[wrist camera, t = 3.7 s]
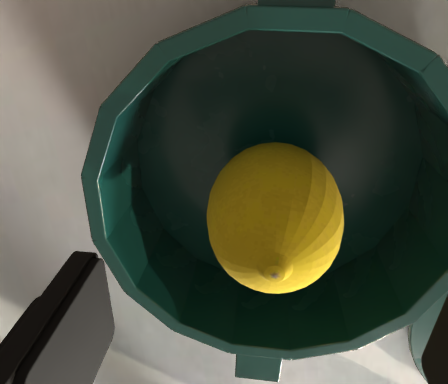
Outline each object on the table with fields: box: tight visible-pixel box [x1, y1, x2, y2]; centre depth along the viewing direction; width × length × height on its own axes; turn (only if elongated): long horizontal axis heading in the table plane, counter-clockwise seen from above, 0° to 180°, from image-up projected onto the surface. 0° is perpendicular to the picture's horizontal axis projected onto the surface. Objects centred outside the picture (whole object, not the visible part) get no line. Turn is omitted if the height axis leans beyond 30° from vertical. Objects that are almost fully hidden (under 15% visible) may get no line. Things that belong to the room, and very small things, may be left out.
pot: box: [81, 0, 448, 382], centre depth 17 cm, size 15×21×5 cm
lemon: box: [207, 142, 344, 294], centre depth 15 cm, size 6×6×8 cm
